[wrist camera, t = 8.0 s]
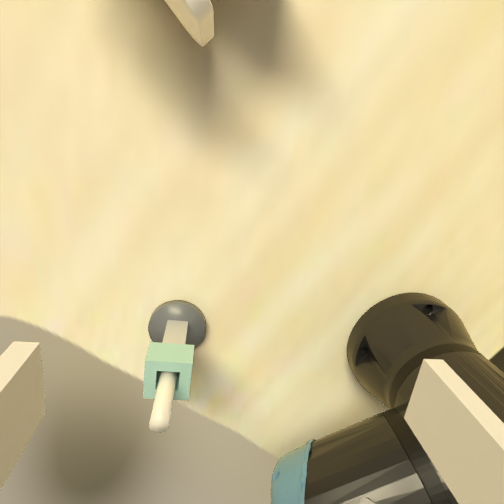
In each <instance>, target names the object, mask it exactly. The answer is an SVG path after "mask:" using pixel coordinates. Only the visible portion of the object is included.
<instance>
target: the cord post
mask: <svg viewBox="0 0 504 504" xmlns="http://www.w3.org/2000/svg"><path fill="white" fill-rule="evenodd" d="M148 331H149V335H150V338H151V340H152V341H153V342H159V343H173V344H187V345H194V348H196V347H197V346H198V345H199V344H200V343H201V342H202V340H203V338H204V336H205V332H206V321H205V317H204V315H203V313H202V312H201V310H200V309H199V308H198V307H196V306H195V305H193V304H192V303H189V302H186V301H181V300H173V301H169V302H166V303H163V304H162V305H160V306H159V307H158V308H156V310H155V311H154V312H153V314H152V316H151V318H150V321H149V326H148ZM176 378H177V372H166V371H161V374H160V378H159V383H158V387H157V392H156V396H155V401H154V405H153V409H152V414H151V418H150V423H149V428H150V429H151V430H152V431H153V432H156V433H162V432H165V431H166V430H167V429H168V427H169V423H170V416H171V410H172V403H173V397H174V391H175V384H176Z"/></svg>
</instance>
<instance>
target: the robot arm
mask: <svg viewBox="0 0 504 504" xmlns="http://www.w3.org/2000/svg"><path fill="white" fill-rule="evenodd" d="M347 356H348V361H349V364H350V367H351V369H352V370H353V372H354V374H355V376H356V378H357V379H358V381H359V382H360V384H361V385H362V386H363V387H364V388H365V389H366V390H367V391H369V392H370V393H371V394H372V395H374V396H375V397H376V398H377V399H379V400H380V401H381V402H382V403H384V404H385V405H386V406H387V407H389V408H390V410H388V411H385V412H383V413H380V414H377V415H375V416H373V417H370V418H368V419H366V420H363V421H361V422H359V423H356V424H354V425H352V426H349V427H347V428H345V429H342V430H340V431H338V432H335V433H333V434H331V435H328V436H326V437H323V438H321V439H319V440H315V439H312V440H310V441H308V443H307V444H306V445H304V446H302V447H300V448H298V449H296V450H294V451H292V452H290V453H288V454H286V455H284V456H283V457H281V458H280V460H279V461H278V462H277V464H276V466H275V468H274V471H273V475H272V485H271V486H272V487H271V504H504V373H503V372H502V371H500V370H499V369H498V368H497V367H496V366H495V365H493V364H492V363H491V362H490V361H489V360H488V359H486V358H485V357H484V356H483V355H482V354H481V353H479V352H478V351H477V349H476V347H475V345H474V343H473V341H472V340H471V338H470V336H469V334H468V332H467V330H466V328H465V326H464V324H463V323H462V321H461V319H460V318H459V317H458V315H457V314H456V313H455V312H454V311H453V310H452V309H451V308H449V307H448V306H447V305H446V304H444V303H443V302H442V301H440V300H439V299H437V298H435V297H433V296H430V295H427V294H422V293H404V294H399V295H395V296H392V297H389V298H387V299H385V300H383V301H381V302H379V303H377V304H376V305H374V306H373V307H371V308H370V309H369V310H368V311H367V312H366V313H365V314H364V315H363V316H362V317H361V318H360V319H359V320H358V322H357V323H356V325H355V326H354V328H353V330H352V332H351V334H350V337H349V341H348V346H347ZM45 413H46V402H45V391H44V381H43V371H42V360H41V350H40V343H34V342H13V343H12V344H11V345H10V346H9V348H8V349H7V350H6V351H5V352H4V353H3V354H2V355H1V356H0V490H1V488H2V486H3V485H4V483H5V481H6V480H7V478H8V476H9V474H10V473H11V471H12V469H13V467H14V466H15V464H16V462H17V461H18V459H19V457H20V455H21V454H22V452H23V450H24V449H25V447H26V445H27V444H28V442H29V440H30V438H31V437H32V435H33V433H34V432H35V430H36V428H37V426H38V425H39V423H40V421H41V420H42V418H43V416H44V414H45Z"/></svg>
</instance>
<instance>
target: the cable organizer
mask: <svg viewBox="0 0 504 504" xmlns="http://www.w3.org/2000/svg"><path fill="white" fill-rule="evenodd" d="M164 1H165V2H166V3H167V5H168V6H169V7H170V9H171V10H172V11H173V13H174V14H175V15H176V17H177V18H178V19H179V21H180V22H181V24H182V25H183V26H184V28H185V29H186V30H187V31H188V33H189V34H190V35H191V36H192V37H193V39H194V40H195V41H196V42H197V43H198V44H199V45H201V46H202V47H203V46H204V45H205V44H207V43H208V42H209V41H210V40H211V39H212V38H213V37H214V10H213V6H212V3H211V1H210V0H164Z"/></svg>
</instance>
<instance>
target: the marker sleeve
mask: <svg viewBox="0 0 504 504" xmlns="http://www.w3.org/2000/svg"><path fill="white" fill-rule="evenodd" d="M193 355H194V345H187V344H173V343H159V342H151V343H150V346H149V349H148V353H147V356H146V359H145V372H144V388H143V398H150V399H155V396H156V392H157V387H158V383H159V378H160V374H161V371H166V372H177V378H176V384H175V391H174V397H173V400H189V391H190V382H191V374H192V365H193Z"/></svg>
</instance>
